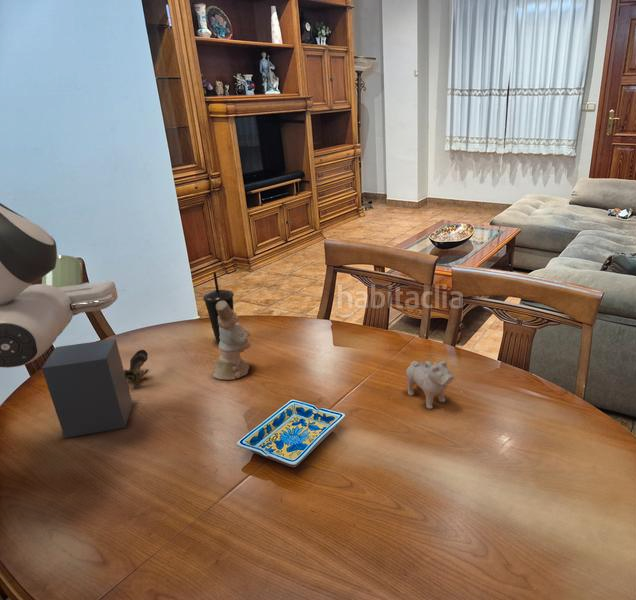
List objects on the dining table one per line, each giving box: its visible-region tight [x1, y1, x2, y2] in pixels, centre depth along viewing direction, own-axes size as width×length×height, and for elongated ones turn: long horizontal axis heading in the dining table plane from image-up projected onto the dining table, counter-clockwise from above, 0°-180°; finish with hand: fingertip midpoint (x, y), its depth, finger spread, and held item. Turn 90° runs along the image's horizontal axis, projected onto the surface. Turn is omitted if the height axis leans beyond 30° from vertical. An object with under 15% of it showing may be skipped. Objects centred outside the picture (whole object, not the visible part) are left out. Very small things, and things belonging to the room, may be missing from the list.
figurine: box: [212, 301, 251, 381], centre depth 120 cm, size 9×8×20 cm
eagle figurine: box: [124, 349, 149, 390], centre depth 120 cm, size 8×7×9 cm
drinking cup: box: [202, 271, 235, 346], centre depth 135 cm, size 8×8×20 cm
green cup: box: [41, 254, 84, 317], centre depth 97 cm, size 6×6×10 cm
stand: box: [41, 338, 133, 439], centre depth 104 cm, size 11×9×16 cm
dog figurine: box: [405, 360, 455, 410], centre depth 109 cm, size 5×13×11 cm, turn 39°
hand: (63, 289), depth 97 cm, fingers closed on green cup, 6 cm apart
